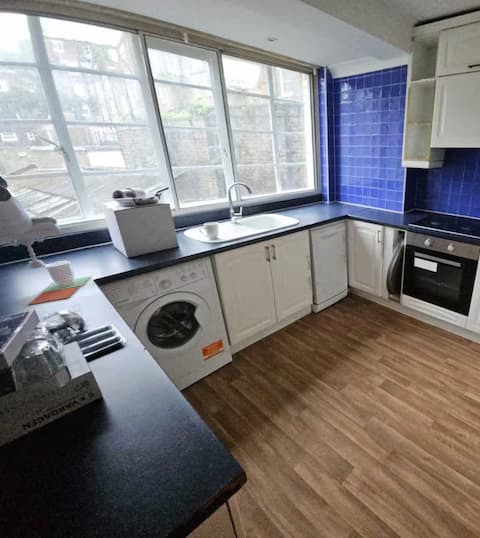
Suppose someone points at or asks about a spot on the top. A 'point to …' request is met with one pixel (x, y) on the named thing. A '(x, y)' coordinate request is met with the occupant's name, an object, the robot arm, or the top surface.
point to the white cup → (61, 273)
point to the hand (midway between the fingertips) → (28, 242)
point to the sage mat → (78, 284)
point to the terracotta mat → (54, 295)
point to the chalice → (31, 254)
